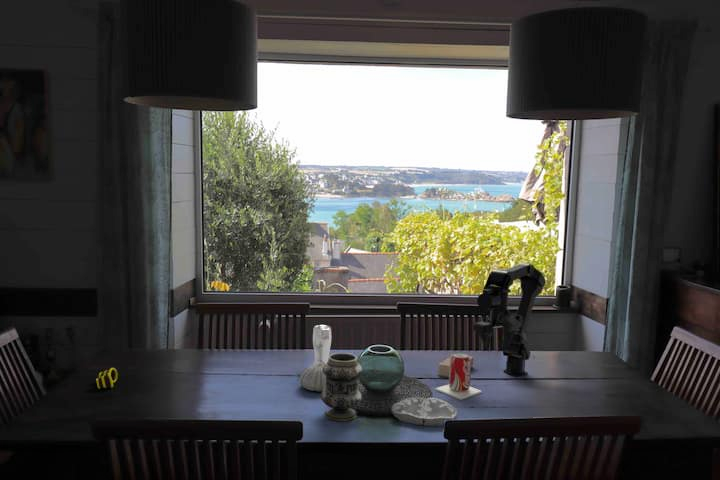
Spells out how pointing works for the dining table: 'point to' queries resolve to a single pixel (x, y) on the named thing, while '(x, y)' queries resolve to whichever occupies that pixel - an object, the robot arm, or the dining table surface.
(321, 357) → the beer glass
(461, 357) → the soda can
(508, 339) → the robot arm
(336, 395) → the apothecary jar
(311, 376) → the sea urchin shell
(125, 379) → the dining table surface
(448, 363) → the brick
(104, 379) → the yellow coil spring
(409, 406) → the brain slice
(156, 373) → the dining table surface
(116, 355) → the dining table surface
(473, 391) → the pad
